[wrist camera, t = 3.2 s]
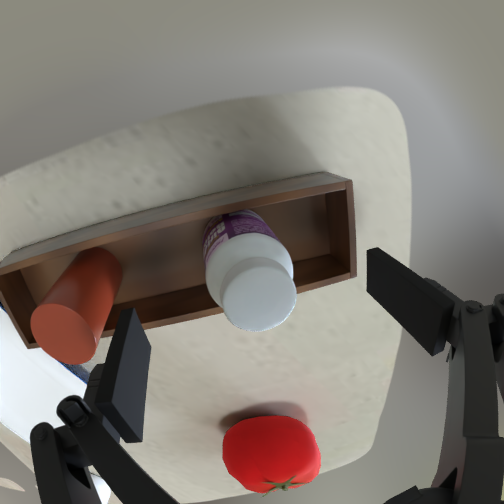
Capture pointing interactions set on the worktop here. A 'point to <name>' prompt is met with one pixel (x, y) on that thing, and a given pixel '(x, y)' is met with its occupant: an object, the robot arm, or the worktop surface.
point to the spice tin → (77, 307)
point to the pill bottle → (248, 271)
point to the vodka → (101, 488)
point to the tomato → (271, 453)
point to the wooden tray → (191, 251)
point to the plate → (31, 383)
